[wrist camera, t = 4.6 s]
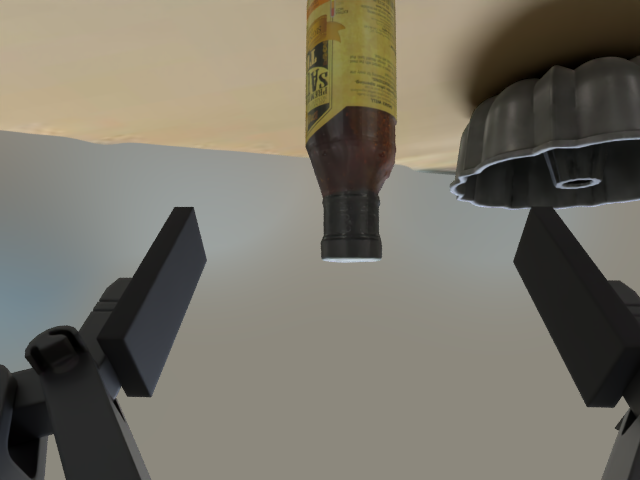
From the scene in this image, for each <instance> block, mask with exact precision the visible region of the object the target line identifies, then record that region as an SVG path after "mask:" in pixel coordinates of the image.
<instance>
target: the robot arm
mask: <svg viewBox="0 0 640 480" xmlns="http://www.w3.org/2000/svg"><path fill="white" fill-rule="evenodd" d="M206 261H207V259H206V255H205V251H204V247H203V243H202V239H201V235H200V231H199V227H198V223H197V219H196V215H195V211H194V207H174V209H173V211H172V212H171V214H170V216H169V218H168V219H167V221H166V222H165V224H164V226H163V228H162V229H161V231H160V232H159V234H158V236H157V237H156V239H155V241H154V242H153V244H152V246H151V247H150V249H149V251H148V252H147V254H146V256H145V257H144V259H143V261H142V263H141V264H140V266H139V268H138V269H137V271H136V273H135V274H134V276H133V278H119V279H117V280H116V281H115V282H114V283H113V284H111V285H110V286H109V287H108V288H107V289H106V290H105V292H104V293H103V295H102V297H101V298H100V300H99V302H97V304H96V306H95V307H94V309H93V312H91V313H90V315H89V316H88V318H87V319H86V321H85V322H84V324H83V326H82V327H81V329H80V330H79V332H78V331H77V330H76V329H75V328H74V327H71V326H57V327H54V328H51V329H48V330H46V331H44V332H42V333H41V334H39V335H38V336H36V337H35V338H34V339H33V340H32V341H31V342H30V343H29V345H28V347H27V348H26V350H25V358H26V359H27V361H28V362H29V363H30V364H31V366H32V367H33V368H31V369H27V370H22V371H18V372H14V373H10V371H9V370H8V369H7V368H6V367H5V366H3V365H0V480H44V476H45V464H46V452H47V441H48V435H52V434H54V436H55V440H56V444H57V447H58V451H59V455H60V459H61V462H62V466H63V470H64V474H65V478H66V480H151V478H150V476H149V473H148V471H147V469H146V467H145V464H144V461H143V459H142V457H141V454H140V452H139V450H138V447H137V445H136V443H135V440H134V438H133V435H132V433H131V431H130V428H129V426H128V424H127V421H126V419H125V416H124V414H123V412H122V409H121V407H120V405H119V403H118V401H117V399H116V396H117V394H118V392H119V390H120V388H121V386H122V388H123V390H124V391H125V393H126V395H127V396H128V397H151V396H152V394H153V392H154V389H155V387H156V384H157V382H158V379H159V377H160V374H161V372H162V369H163V367H164V365H165V362H166V359H167V357H168V355H169V352H170V350H171V347H172V345H173V342H174V340H175V337H176V335H177V332H178V330H179V328H180V325H181V322H182V320H183V318H184V315H185V313H186V310H187V308H188V305H189V303H190V300H191V298H192V295H193V293H194V291H195V288H196V286H197V283H198V281H199V278H200V276H201V273H202V271H203V269H204V266H205V264H206ZM513 262H514V264H515V266H516V268H517V270H518V272H519V274H520V276H521V278H522V280H523V282H524V284H525V286H526V288H527V290H528V292H529V294H530V296H531V298H532V300H533V302H534V304H535V306H536V308H537V310H538V312H539V314H540V316H541V317H542V319H543V321H544V323H545V325H546V327H547V329H548V331H549V333H550V335H551V337H552V339H553V341H554V343H555V345H556V347H557V349H558V351H559V353H560V355H561V357H562V359H563V361H564V362H565V365H566V367H567V368H568V371H569V372H570V374H571V376H572V378H573V380H574V382H575V384H576V386H577V388H578V390H579V392H580V394H581V396H582V398H583V400H584V402H585V404H586V406H587V407H609V408H613V407H615V405H616V404H617V403H618V401H619V400H620V398H621V397H622V396H623V397H624V398H625V400H626V402H627V403H628V405H629V407H630V409H629V410H628V411H627V412H626V414H625V415H624V416H623V418H622V419H621V420H620V422H619V423H618V424H617V426H616V427H615V429H617V430H619V432H618V435H617V438H616V441H615V444H614V446H613V449H612V452H611V455H610V457H609V460H608V463H607V465H606V468H605V471H604V473H603V476H602V479H601V480H640V297H639V296H638V295H637V294H636V292H635V291H633V290H632V289H630V288H629V287H628V286H626V285H625V284H624V283H622V282H621V281H607V279H606V278H605V277H604V275H603V274H602V273H601V271H600V270H599V269H598V267H597V266H596V265H595V263H594V262H593V261H592V260H591V258H590V257H589V255H588V254H587V253H586V251H585V250H584V249H583V247H582V246H581V245H580V243H579V242H578V241H577V239H576V238H575V237H574V235H573V234H572V233H571V231H570V230H569V229H568V227H567V226H566V225H565V224H564V222H563V221H562V219H561V218H560V217H559V215H558V214H557V213H556V212H555V210H554V209H553V207H552V206H531V209H530V212H529V215H528V218H527V221H526V224H525V227H524V230H523V233H522V236H521V239H520V242H519V245H518V249H517V252H516V255H515V258H514V261H513Z"/></svg>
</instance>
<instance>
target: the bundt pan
mask: <svg viewBox="0 0 640 480" xmlns="http://www.w3.org/2000/svg"><path fill="white" fill-rule="evenodd" d="M450 192H451V193H453V194H455V195H457V200H459V201H468V202H470V203H471V204H473V205H476V206H480V207H491V208H505V209H509V210H515V209H531V206H552V207H553V209H562V208H572V207H595V206H600V205H604V204H609V203H621V202H629V201H637V200H640V56H637V57H635V58H632V59H630V60H629V61H628V60H626V59H623V58H619V57H602V58H597V59H594V60H591V61H588V62H586V63H584V64H582V65H581V66H579V67H578V68H576V69H575V70H572V69H568V68H565V67H562V66H559V65H555V66H553V67H552V68H551V69H550V70H549V71H548V72H547V73H546V74H545V75H544V76H543V77H542V78H541V79H525V80H521V81H518V82H516V83H514V84H512V85H510V86H509V87H507V88H506V89H505V90H503V91H502V92H501V93H500V94H499V95H497V96H493V97H491V98H489V99H487V100H485V101H484V102H482V103H481V104H480V105H479V106H478V107H477V108H476V110H475V111H474V113H473V114H472V117H471V119H470V122H469V124H468V125H467V127H466V128H465V130H464V132H463V134H462V137H461V142H460V149H459V155H458V162H457V169H456V176H455V181H453V182H452V183H451V184H450Z"/></svg>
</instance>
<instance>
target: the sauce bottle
mask: <svg viewBox="0 0 640 480" xmlns="http://www.w3.org/2000/svg"><path fill="white" fill-rule="evenodd" d="M396 124H397V95H396V20H395V0H308V1H307V36H306V149H307V152H308V154H309V157H310V160H311V163H312V166H313V168H314V172H315V175H316V178H317V180H318V184H319V187H320V189H321V193H322V196H323V202H322V203H323V207H324V236H323V239H322V241H321V257H322V260H323V261H330V262H368V261H379V260H381V258H382V245H381V238H380V235H379V206H380V200H379V196H378V193H379V191H380V190H381V188H382V186H383V184H384V181H385V180H386V179H387V178H388V177H389V176H390V172H391V170H392V168H393V165H394V163H395V153H396V145H395V136H396V135H395V125H396Z"/></svg>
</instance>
